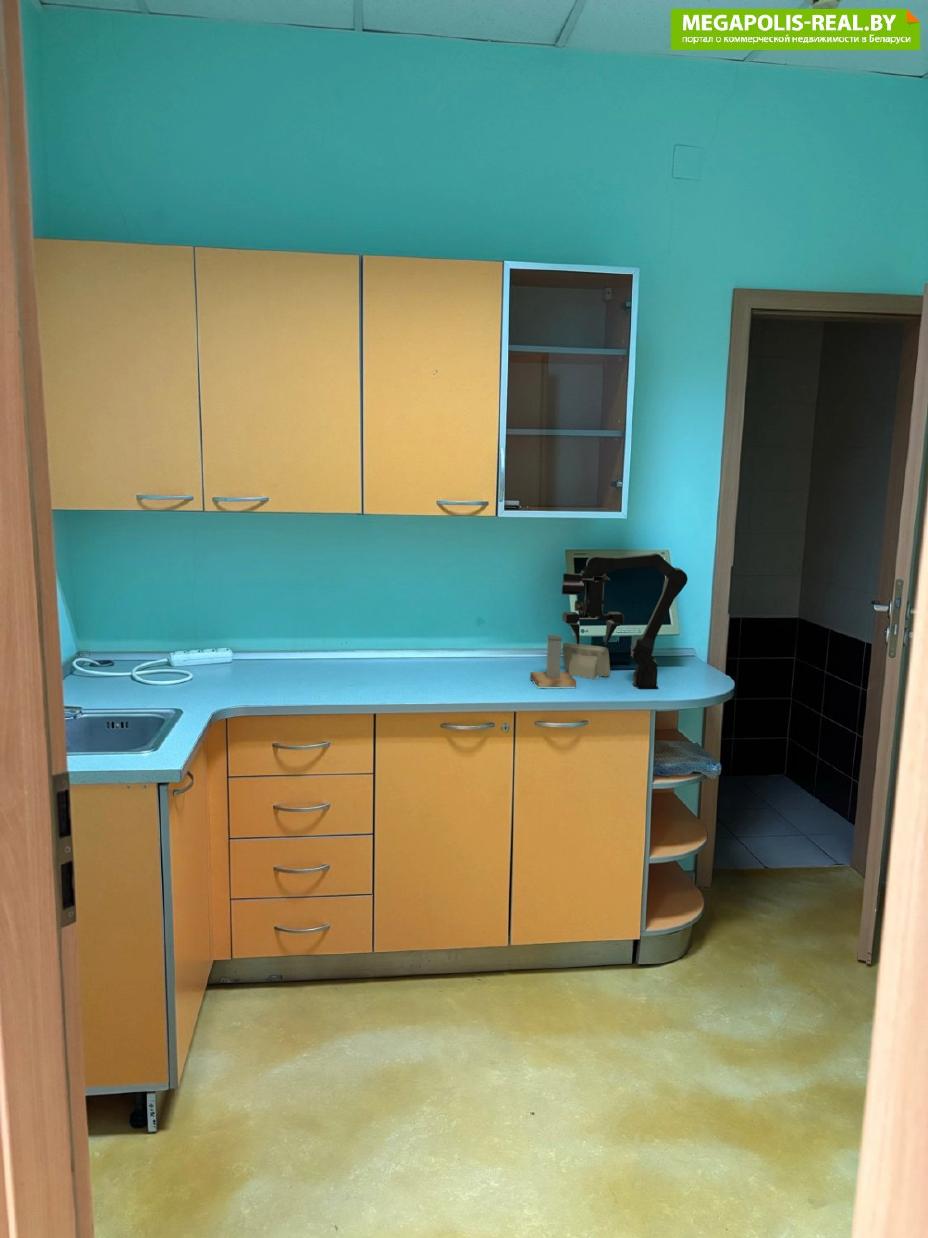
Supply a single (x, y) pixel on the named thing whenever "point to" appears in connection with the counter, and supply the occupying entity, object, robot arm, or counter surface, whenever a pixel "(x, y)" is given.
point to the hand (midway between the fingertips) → (591, 644)
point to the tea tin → (553, 656)
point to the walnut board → (553, 680)
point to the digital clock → (586, 660)
